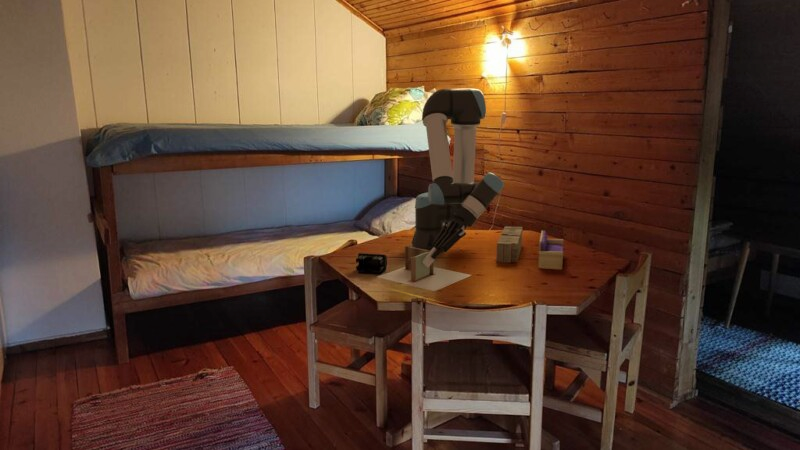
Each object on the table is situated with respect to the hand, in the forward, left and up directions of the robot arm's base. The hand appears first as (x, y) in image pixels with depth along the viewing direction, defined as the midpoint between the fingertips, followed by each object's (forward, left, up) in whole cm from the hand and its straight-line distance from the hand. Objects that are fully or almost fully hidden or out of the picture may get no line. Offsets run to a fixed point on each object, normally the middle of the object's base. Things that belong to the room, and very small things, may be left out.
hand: (424, 264), depth 192 cm
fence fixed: (-7, +6, -5) cm, 11 cm away
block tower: (+5, +50, -6) cm, 51 cm away
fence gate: (-2, 0, -5) cm, 5 cm away
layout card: (-2, +3, -6) cm, 7 cm away
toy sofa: (+23, +48, -6) cm, 54 cm away
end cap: (-21, -4, -6) cm, 22 cm away
